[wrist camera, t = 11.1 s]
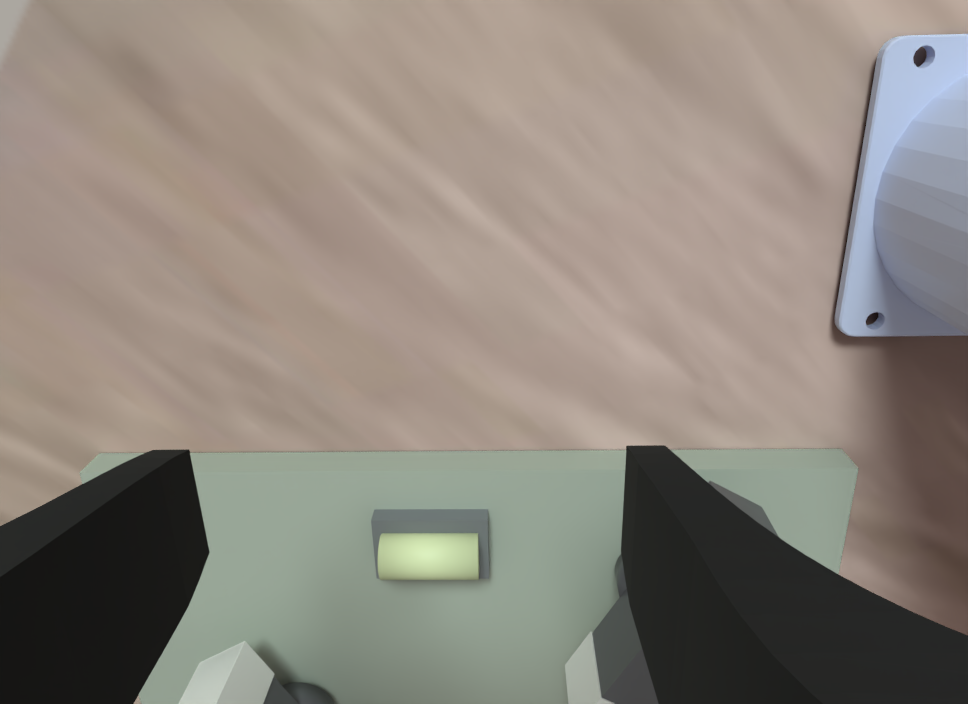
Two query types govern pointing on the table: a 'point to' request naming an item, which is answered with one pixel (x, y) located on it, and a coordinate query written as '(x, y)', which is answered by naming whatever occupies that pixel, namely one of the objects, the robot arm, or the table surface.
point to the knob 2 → (625, 643)
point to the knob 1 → (245, 682)
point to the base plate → (441, 562)
